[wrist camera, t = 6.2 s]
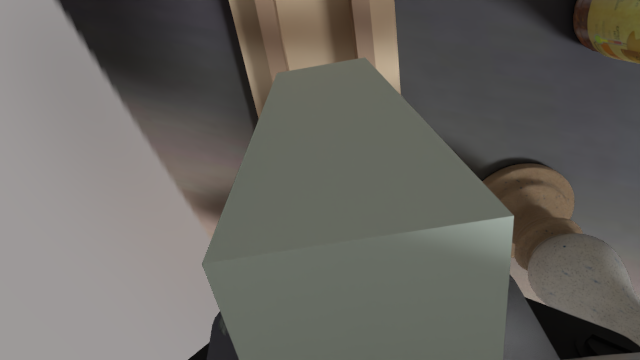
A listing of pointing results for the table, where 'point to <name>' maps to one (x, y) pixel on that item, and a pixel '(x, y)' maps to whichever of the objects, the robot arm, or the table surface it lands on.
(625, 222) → the table surface
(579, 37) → the sauce bottle
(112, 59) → the table surface
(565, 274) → the candle holder
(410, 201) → the rectangular block
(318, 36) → the track
